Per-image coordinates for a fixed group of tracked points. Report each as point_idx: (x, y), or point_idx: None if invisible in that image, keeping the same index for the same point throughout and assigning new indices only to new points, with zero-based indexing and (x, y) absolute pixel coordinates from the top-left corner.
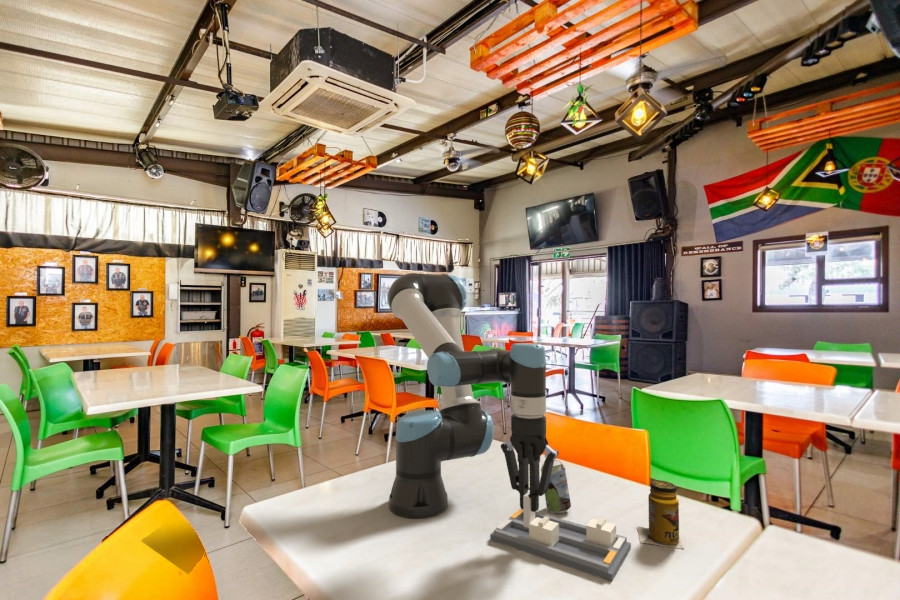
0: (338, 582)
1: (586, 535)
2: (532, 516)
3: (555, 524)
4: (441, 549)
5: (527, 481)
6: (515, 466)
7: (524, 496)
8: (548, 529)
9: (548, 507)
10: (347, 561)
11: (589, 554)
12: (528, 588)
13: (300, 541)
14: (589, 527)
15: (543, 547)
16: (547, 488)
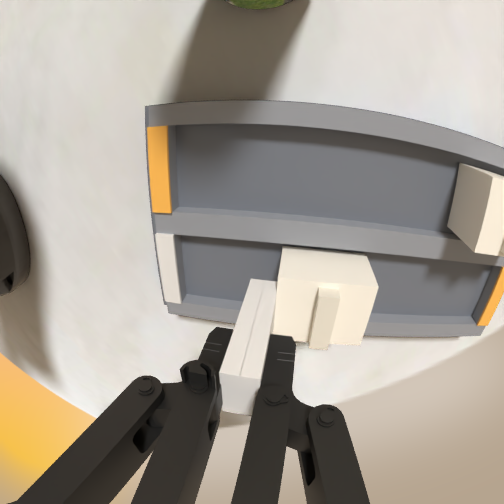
0: None
1: (457, 235)
2: (272, 326)
3: (367, 301)
4: (129, 357)
5: (204, 439)
6: (101, 481)
7: (229, 409)
8: (348, 342)
9: (230, 2)
10: (88, 398)
11: (451, 278)
12: (327, 399)
13: (34, 372)
14: (480, 252)
15: None
16: (345, 433)
